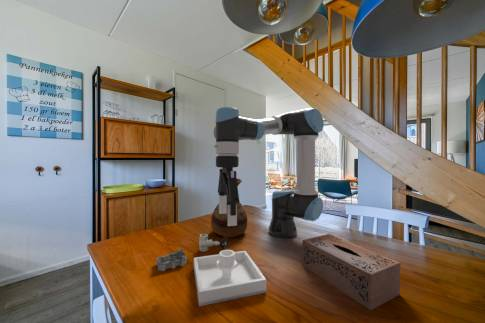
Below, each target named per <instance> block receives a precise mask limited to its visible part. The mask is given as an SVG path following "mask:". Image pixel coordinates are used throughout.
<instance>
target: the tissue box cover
mask: <svg viewBox="0 0 485 323" xmlns="http://www.w3.org/2000/svg"><path fill="white" fill-rule="evenodd" d="M301 260H302V262H301V263H302V264H301V265H302V266H303V267H304V268H306V269H307V270H309V271H310V272H312V273H314V274H315V275H316V276H317V277H319V278H321V279H322V280H324V281H325V282H327V283H328V284H330V285H331V286H333V287H335V288H336V290H337V289H338V290H339V291H340V292H342V293H344V294H345V295H346V296H348V297H349V298H351V299H353V300H354V302H355V301H356V302H357V303H359V304H360V305H362V306H363V307H365V308H366V309H367V310H369V311H373V310H374V309H375V308H377V307H381V305H383V304H385V303H387V302H389V301H391V300H392V299H395V298H396V297H397V296H400V292H401V291H400V290H401V289H400V287H401V262H400V261H397V260H395V259H392V258H389V257H387V256H385V255H382V254H380V253H378V252H375V251H373V250H370V249H368V248H366V247H363V246H360V245H358V244H355V243H352V242H351V241H347V240H346V239H343V238H341V237H338V236H335V235H334V234H330V233H327V234H324V235H318V236H314V237H310V238H305V239H302V257H301Z"/></svg>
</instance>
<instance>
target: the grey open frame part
mask: <svg viewBox="0 0 485 323" xmlns="http://www.w3.org/2000/svg"><path fill="white" fill-rule="evenodd" d="M187 259H188V257H187V255H186V254H185V251H184V248H180V249H177V250H175V251H174V252H170V253H169V254H164V255H162V256H158V257H156V259H155V260H156V266H157V271H162V272H165V271H166V270H167V269H176V267H178V266H180V267H185V265H186V264H188V263H187Z"/></svg>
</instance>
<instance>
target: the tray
mask: <svg viewBox="0 0 485 323" xmlns="http://www.w3.org/2000/svg"><path fill="white" fill-rule="evenodd" d="M234 253H235V260H236V262H237V267H235V268H234V269H232V275H231V278H230V279H224V278H222V270H219V268H218V267H217V265H216V262H217V261H218V260H219V253H218V254H211V255H204V256H197V257H193V271H194V272H193V273H194V279H195V285H196V286H195V287H196V293H197V295H196V296H197V301H198V306H199V307H203V306H208V305H212V304H213V305H214V304H218V303H222V302H227V301H232V300H238V299H242V298H246V297H247V298H248V297H250V296H256V295H260V294H266V293H267V279H266V277H265V276H264V275H263V273H262V271H261V270H260V268H259V267H258V266H257V265H256V263H255V262H254V260H253V259H252V258H251V256H250V255H249V253H248V252H247V251H246V250H241V251H234Z"/></svg>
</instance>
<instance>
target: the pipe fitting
mask: <svg viewBox="0 0 485 323" xmlns="http://www.w3.org/2000/svg"><path fill="white" fill-rule="evenodd" d="M234 252H235V251H234V250H232V249H226V250H223V249H222V250H221V251H219V253H218V254H219V260H218V261H217V262H216V265H217V267H218V268H219V270H222V278H224V279H230V278H231V275H232V269H234V268H235V267H237V262H236V260H235V253H234Z"/></svg>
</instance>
